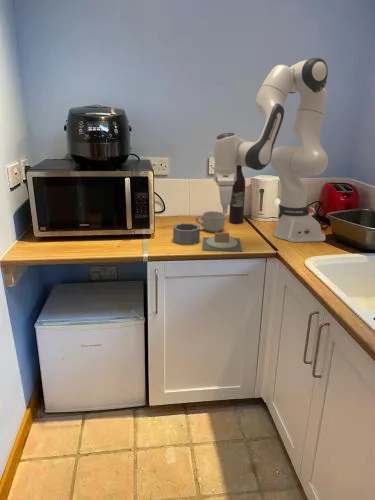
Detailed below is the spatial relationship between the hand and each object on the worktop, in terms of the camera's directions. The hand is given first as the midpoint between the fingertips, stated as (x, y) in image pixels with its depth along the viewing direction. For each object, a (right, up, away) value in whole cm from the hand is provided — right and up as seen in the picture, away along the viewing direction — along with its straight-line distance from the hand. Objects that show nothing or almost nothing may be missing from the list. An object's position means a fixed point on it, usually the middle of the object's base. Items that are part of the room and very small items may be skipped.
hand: (224, 210), depth 154 cm
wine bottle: (+9, -2, +37) cm, 39 cm away
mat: (-1, -14, +5) cm, 15 cm away
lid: (-1, -14, +5) cm, 14 cm away
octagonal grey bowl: (-16, -12, +9) cm, 22 cm away
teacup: (-5, -7, +24) cm, 25 cm away
